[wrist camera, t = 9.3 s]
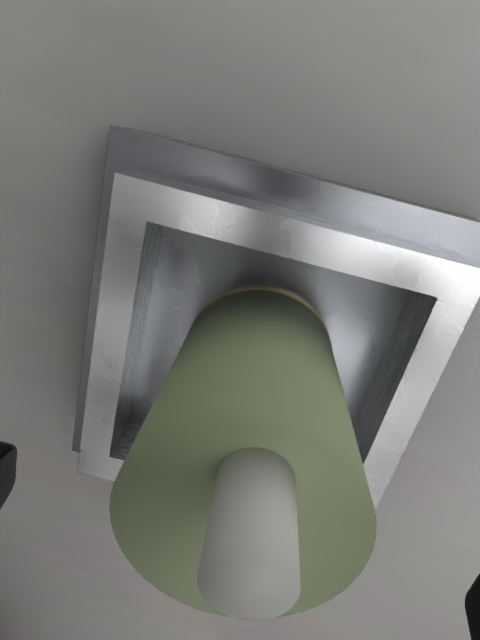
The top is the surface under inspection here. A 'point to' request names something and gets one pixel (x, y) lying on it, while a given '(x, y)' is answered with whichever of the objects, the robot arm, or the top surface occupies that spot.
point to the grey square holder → (266, 286)
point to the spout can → (247, 468)
